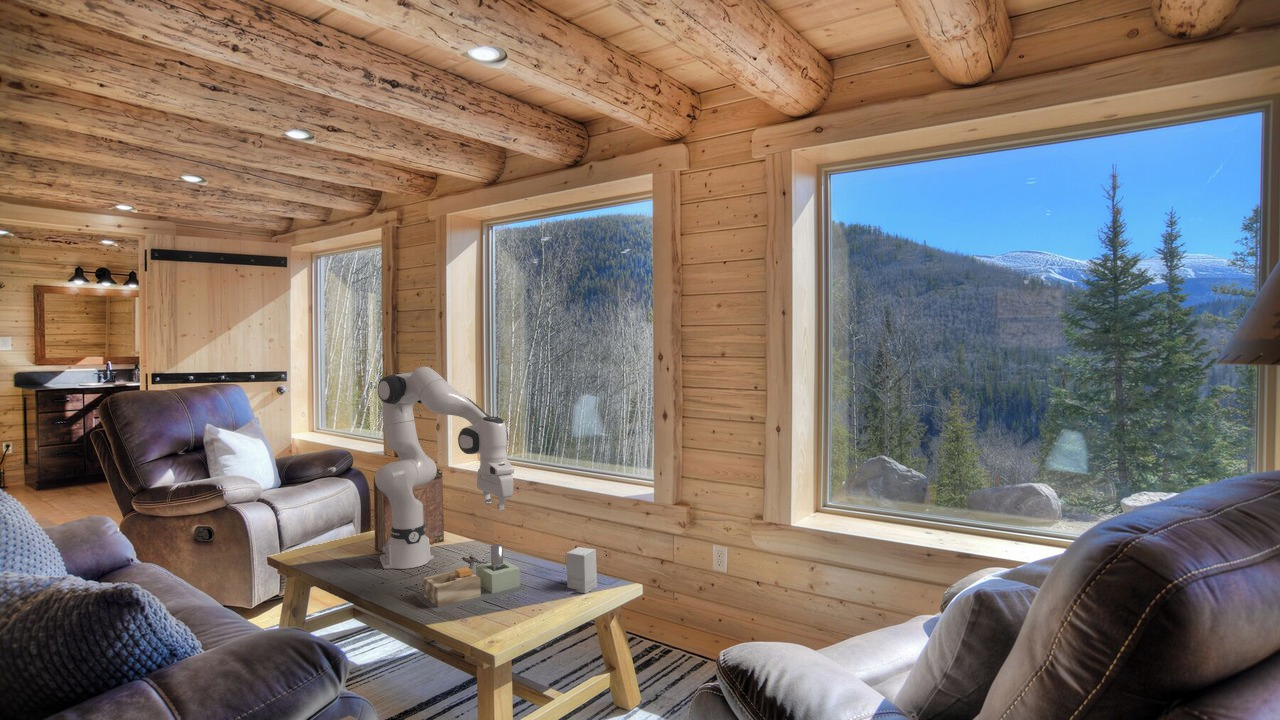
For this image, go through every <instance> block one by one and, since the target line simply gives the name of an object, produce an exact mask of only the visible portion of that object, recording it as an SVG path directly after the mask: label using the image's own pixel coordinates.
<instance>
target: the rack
mask: <svg viewBox="0 0 1280 720" xmlns="http://www.w3.org/2000/svg"><path fill="white" fill-rule="evenodd" d="M503 566H504V569H501V570H497V571H492V570H491V562H487V563H486V564H478V565H476V567H475V569H476V570H475V572H476V574H475V575H477V576H478V577H480V584H481V587H483V588H485V589H486V590H488V591H489V592H491V593H496V592H500V591H504V590H507V589H511V588H515V587H519V586H520V584H521V569H520V567H519V566H516V565H515V564H513V563H511V562H509V561H507V560H505V559H503Z"/></svg>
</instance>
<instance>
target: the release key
mask: <svg viewBox="0 0 1280 720" xmlns="http://www.w3.org/2000/svg"><path fill="white" fill-rule="evenodd" d="M454 571H455V574H456V575H458V576H459V577H465V576H468V575H472V573H473V569H470V567H468V566H465V567H460V568H456V569H454Z"/></svg>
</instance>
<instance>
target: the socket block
mask: <svg viewBox="0 0 1280 720" xmlns="http://www.w3.org/2000/svg"><path fill="white" fill-rule="evenodd" d="M423 593H424V597H425V598H427V599H428V600H429V601H430V602H432V603H433V604H434V605H436V606H437V607H442V606H446V605H450V604H453V603H457V602H461V601H465V600H469V599H473V598H477V597H480V596H481V584H480V577H478V576H477V575H476V574H474V573H473V572H472V575H468V576H465V577H459V576H458V575H456V574H455V570H451V571H448V572H447V571H446V572H443V573H439V574H434V575H430V576H426V577H423Z"/></svg>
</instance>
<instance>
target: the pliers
mask: <svg viewBox="0 0 1280 720" xmlns="http://www.w3.org/2000/svg"><path fill="white" fill-rule="evenodd" d="M462 559H463V561H464V562H466V563H469V564H470V566H469V568H470V569H471V570H473V567H474V565H475V563H476V562H477V563H476V564H481V563H484V564H486V563H488V562H487V561H481V560H479V559H477V558H476V557H474V556H472V555H469V558H468V557H467V558H466V557H465V556H463V557H462ZM474 562H475V563H474Z"/></svg>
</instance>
